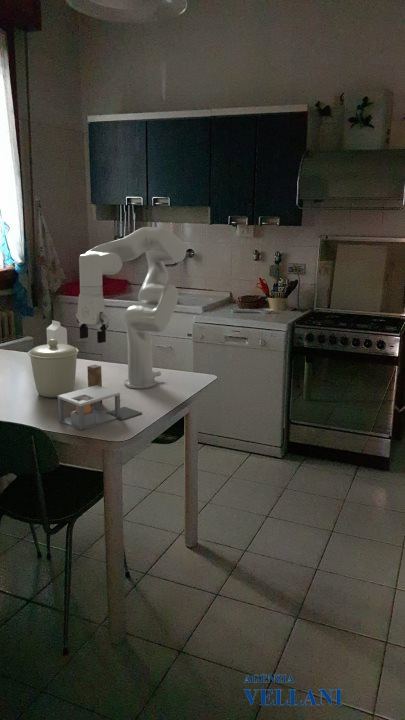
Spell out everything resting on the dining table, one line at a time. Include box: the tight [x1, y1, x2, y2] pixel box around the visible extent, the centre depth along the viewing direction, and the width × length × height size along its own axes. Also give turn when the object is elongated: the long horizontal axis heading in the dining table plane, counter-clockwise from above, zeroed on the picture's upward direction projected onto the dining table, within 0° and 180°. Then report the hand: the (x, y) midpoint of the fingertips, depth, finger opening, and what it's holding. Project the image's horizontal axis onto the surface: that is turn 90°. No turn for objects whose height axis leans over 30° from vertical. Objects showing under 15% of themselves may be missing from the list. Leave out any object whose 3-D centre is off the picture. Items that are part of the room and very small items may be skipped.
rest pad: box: [107, 406, 143, 421], centre depth 199 cm, size 9×9×1 cm
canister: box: [27, 339, 80, 399], centre depth 217 cm, size 18×18×21 cm
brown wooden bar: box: [86, 364, 103, 407], centre depth 207 cm, size 3×3×14 cm
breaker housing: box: [57, 385, 121, 431], centre depth 192 cm, size 16×12×9 cm
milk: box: [46, 319, 68, 345], centre depth 245 cm, size 6×6×22 cm
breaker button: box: [75, 399, 91, 415], centre depth 188 cm, size 3×3×4 cm
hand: (92, 340), depth 202 cm, fingers open, 9 cm apart
